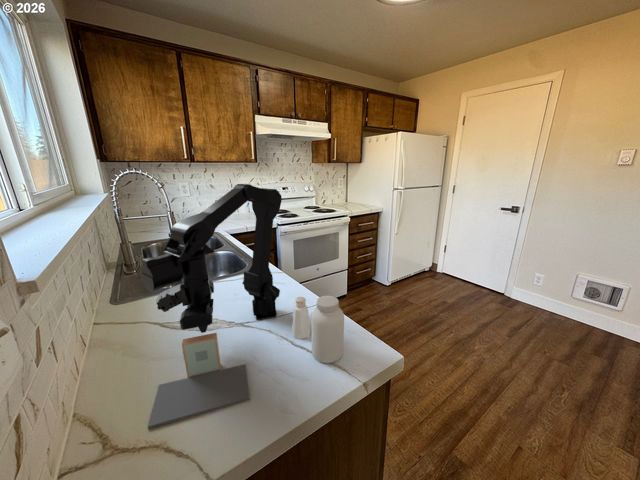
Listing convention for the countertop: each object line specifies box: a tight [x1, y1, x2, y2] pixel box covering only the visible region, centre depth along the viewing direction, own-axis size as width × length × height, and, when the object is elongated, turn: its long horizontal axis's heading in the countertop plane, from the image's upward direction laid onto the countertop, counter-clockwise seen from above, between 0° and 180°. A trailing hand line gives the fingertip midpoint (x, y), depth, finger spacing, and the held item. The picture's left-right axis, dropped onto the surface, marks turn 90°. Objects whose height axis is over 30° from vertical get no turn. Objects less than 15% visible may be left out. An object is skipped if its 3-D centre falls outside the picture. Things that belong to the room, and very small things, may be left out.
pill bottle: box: [310, 295, 345, 364], centre depth 65 cm, size 8×8×15 cm
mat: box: [147, 363, 250, 430], centre depth 56 cm, size 18×10×1 cm, turn 110°
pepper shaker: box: [291, 296, 312, 340], centre depth 74 cm, size 5×5×11 cm
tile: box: [181, 332, 222, 378], centre depth 61 cm, size 7×2×9 cm, turn 110°
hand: (203, 331), depth 67 cm, fingers closed
